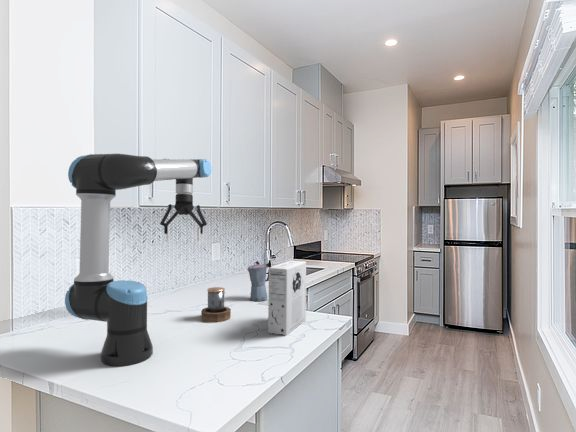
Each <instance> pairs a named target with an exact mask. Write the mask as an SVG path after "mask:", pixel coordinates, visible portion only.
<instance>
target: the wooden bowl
mask: <svg viewBox="0 0 576 432" xmlns="http://www.w3.org/2000/svg"><path fill="white" fill-rule="evenodd" d="M231 309H232V308H230V307H228V306H224V312H220V313H210V312H208V306H207V307H204V308H202V309H201V313H200V314H201V320H202V321H203V322H207V323H222V322H226V321H229V320H230V319H231V318H232V317H231V316H232V315H231V313H232V312H231Z"/></svg>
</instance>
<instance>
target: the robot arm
mask: <svg viewBox="0 0 576 432" xmlns="http://www.w3.org/2000/svg"><path fill="white" fill-rule="evenodd" d="M211 174H212V163H211V162H210V161H209V160H208V159H206V158H205V159H204V158H200V159H199V158H197V159H195V158H194V159H192V158H191V159H186V158H185V159H184V158H183V159H180V158H179V159H170V158H163V159H162V158H161V159H155V158H154V159H153V158H151V157H150V156H144V155H143V156H142V155H132V154H127V153H126V154H124V153H99V154H98V153H93V154H92V153H91V154H86V155H80V156H78V157H76V158H75V159H74V160H73V161H72V162H71V163H70V166H69V168H68V172H67V176H68V180H69V182H70V184H71V187H73V188H74V189H76V191H75V195H76V196H77V197H78V198H79V199H80V201H81V202H80V203H81V204H80V231H79V232H80V235H79V236H80V237H79V239H80V240H79V273H78V275H76V276H75V277H74V278H73V284H71V285H70V286H69V287H68V290H67V291H66V292H65V297H64V304H65V305H64V306H65V307H66V310H67V312H68V313H69V314H70V315H71V316H73V317H75V318H79V319H81V320H85V321H97V322H98V321H99V322H106V329H107V330H106V338H105V340H104V343H103V346H102V349H101V352H100V361H101V363H102V364H104V365H107V366H113V367H117V366H118V367H119V366H122V367H123V366H129V365H134V364H139V363H141V362H144V361H146V360H148V359H149V358H151V357H152V356H151V355H153V354H154V347H153V343H152V339H151V338H150V337H151V336H150V335H149V332H148V299H149V298H148V292H147V286H146V285H144V283H141V281H137V280H136V281H135V280H129V279H128V280H125V279H122V280H114V275H112V274H111V273H110V272H109V271H110V269H109V267H110V234H111V233H110V232H111V231H110V229H111V202H112V200H113V199H114V198H116V192H117V191H118V190H120V191H121V190H126V189H130V188H136V187H140V186H147V185H148V186H149V185H152V184H153V183H154V182H158V181H159V182H160V181H172V180H175V194H176V195H175V204H168V205H167V210H166V212H165V213H164V215H163V217H162V219H161V221H160V222H159V224H160V226H163V228H164V229H163V230H164V231H163V233H164V234H165V235H166V242H170V229H171V228H170V226H169V225H170V224H171V223H172V221H174V219H175V218H176V217H177V216H178V215H180V216H182V215H185V216H188V215H189V216H190V217H191V218H192V219H193V221H194V222H195V223H196V224H197V225H198V226H197V230H196V231H197V238H196V239H197V242H201V234H202V235H203V232H204V231H203V227H204V226H207V224H208V223H207V221H206V218H205V216H204V215H203V213H202V211H201V206H200V204H198V205H194V204H193V203H194V198H193V197H194V196H193V192H194V184H193V182H194V181H193V179H196V178H199V179H200V178H202V179H203V178H208V177H210V175H211ZM173 209H174V210H175V212H174V213H173V214H172V215H171V217H169V215H170V214H171V211H172V210H173ZM193 210H195V211H196V213H197V215H198V217H199V218H198V217H197V215H195V213H194V212H193ZM168 217H169V219H168V220H167V218H168ZM166 220H167V221H166Z"/></svg>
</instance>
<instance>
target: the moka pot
mask: <svg viewBox="0 0 576 432" xmlns="http://www.w3.org/2000/svg"><path fill="white" fill-rule="evenodd" d="M270 267H272V266H271V265H270V264H269V263H268V262H267V263H266V264H265V263H264V264H259V261H258V260H256V261H255V264H254V265H250V266H248V267H247V269H246V270H247V271H248V273H249V279H250V282H251V284H250V285H251V287H250V301H253V302H263V301H266V300H268V299H269V296H268V293H267V285H266V282H269V268H270ZM267 268H268V269H267Z"/></svg>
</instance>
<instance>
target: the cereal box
mask: <svg viewBox="0 0 576 432" xmlns="http://www.w3.org/2000/svg"><path fill="white" fill-rule="evenodd" d="M268 270H269V281H268V314H267V315H268V320H267V322H268V325H267V326H268V329H267V330H268V332H269V333H268V334H272V333H275V334H274V335H278V334H283V335H282V336H285V335H286V336H288V335H289V334H290V333H291V332H293V331H294V330H295V329H296V328H297V327H299V326H300V325H301V324H302V323H304V322H305V321H306V320H307V319H306V318H307V317H306V316H307V309H306V308H307V261H304V260H303V261H302V260H287V261H285V262H282V263H279V264H276V265H273V266H271V267H270V268H269V267H268ZM298 325H299V326H298ZM293 329H294V330H293ZM292 330H293V331H292ZM288 333H289V334H288ZM287 334H288V335H287Z"/></svg>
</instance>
